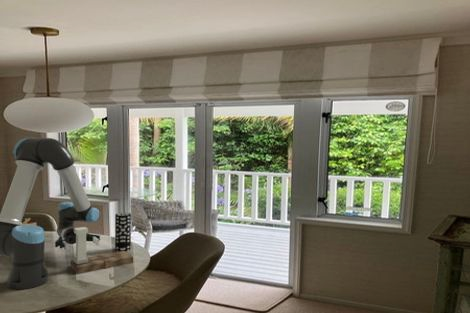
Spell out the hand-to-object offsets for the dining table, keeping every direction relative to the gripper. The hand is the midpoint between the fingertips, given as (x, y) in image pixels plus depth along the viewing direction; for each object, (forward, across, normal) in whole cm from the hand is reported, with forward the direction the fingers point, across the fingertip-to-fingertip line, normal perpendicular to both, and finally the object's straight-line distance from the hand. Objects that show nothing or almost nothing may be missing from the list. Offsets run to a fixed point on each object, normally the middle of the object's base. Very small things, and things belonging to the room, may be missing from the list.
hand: (83, 244), depth 161 cm
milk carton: (-41, +16, -12) cm, 45 cm away
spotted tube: (-20, -27, -12) cm, 36 cm away
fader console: (-2, -10, -12) cm, 16 cm away
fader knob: (-2, 0, -8) cm, 9 cm away
